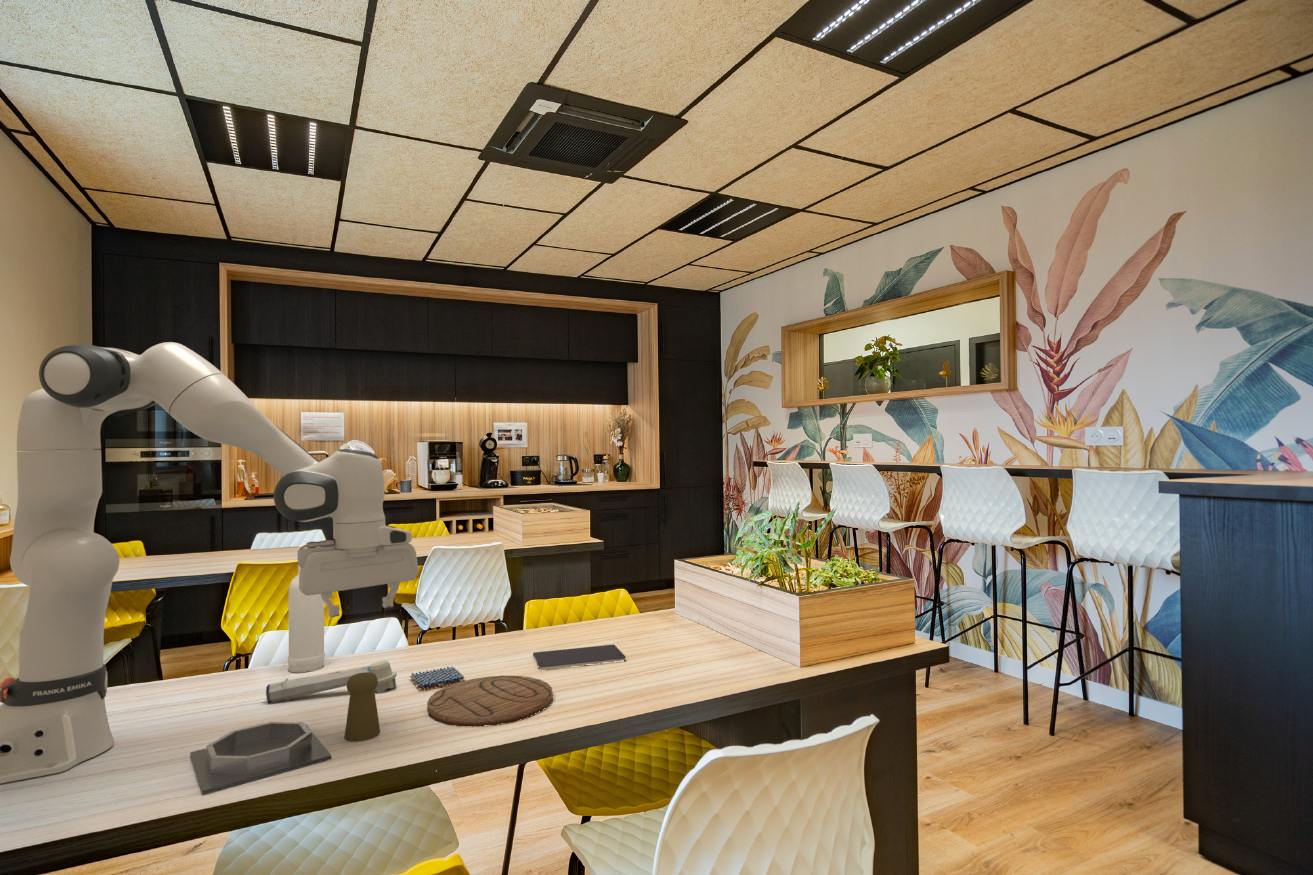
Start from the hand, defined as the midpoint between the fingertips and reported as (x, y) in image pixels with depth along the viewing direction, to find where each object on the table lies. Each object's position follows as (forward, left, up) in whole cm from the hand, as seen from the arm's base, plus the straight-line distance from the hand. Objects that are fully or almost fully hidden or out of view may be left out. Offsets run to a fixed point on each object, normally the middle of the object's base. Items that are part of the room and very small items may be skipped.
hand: (361, 611), depth 123 cm
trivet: (+25, -1, -23) cm, 34 cm away
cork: (0, -1, -23) cm, 23 cm away
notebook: (+55, +11, -23) cm, 61 cm away
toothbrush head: (+2, +27, -23) cm, 35 cm away
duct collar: (-16, +1, -22) cm, 27 cm away
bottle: (+2, +52, -23) cm, 56 cm away
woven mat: (+22, +19, -23) cm, 37 cm away
